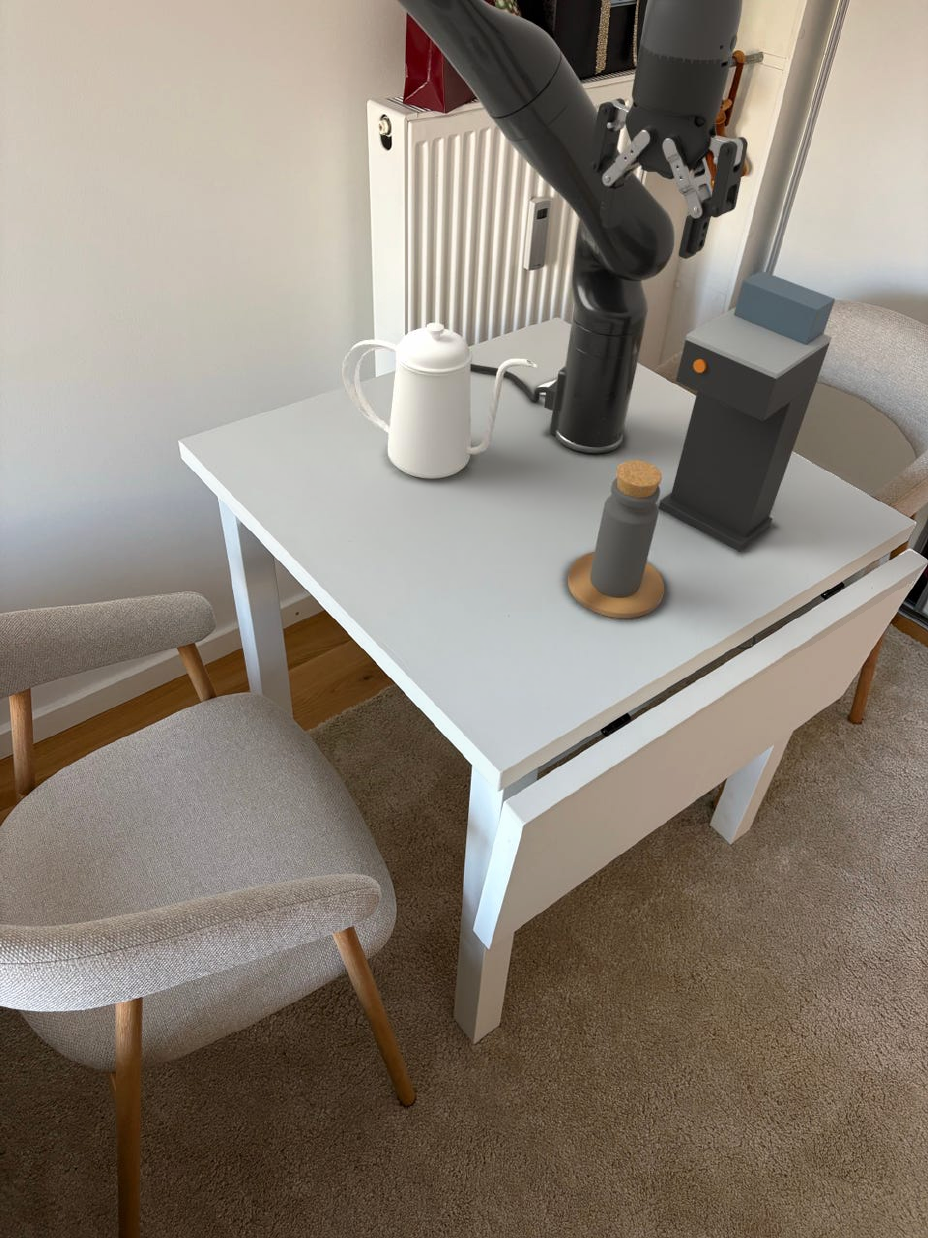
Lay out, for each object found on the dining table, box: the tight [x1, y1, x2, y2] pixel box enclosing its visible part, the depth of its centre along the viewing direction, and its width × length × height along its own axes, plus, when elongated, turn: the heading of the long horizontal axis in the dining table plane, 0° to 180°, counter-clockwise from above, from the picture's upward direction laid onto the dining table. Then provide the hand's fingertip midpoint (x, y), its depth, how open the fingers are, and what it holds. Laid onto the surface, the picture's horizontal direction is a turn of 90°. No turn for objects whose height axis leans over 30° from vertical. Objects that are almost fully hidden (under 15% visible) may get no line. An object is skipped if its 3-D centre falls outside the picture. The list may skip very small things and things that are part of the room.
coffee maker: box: [658, 270, 836, 552], centre depth 113 cm, size 12×12×30 cm
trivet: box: [567, 551, 665, 619], centre depth 113 cm, size 11×11×1 cm
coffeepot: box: [341, 322, 539, 479], centre depth 124 cm, size 11×25×19 cm, turn 71°
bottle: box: [590, 460, 663, 597], centre depth 108 cm, size 6×6×15 cm
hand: (648, 240), depth 91 cm, fingers open, 8 cm apart
